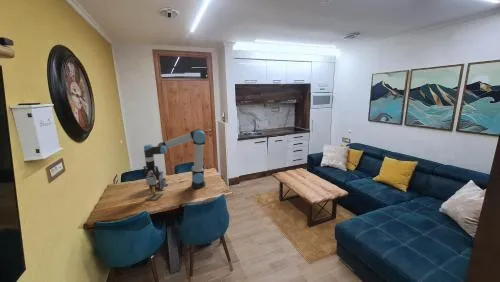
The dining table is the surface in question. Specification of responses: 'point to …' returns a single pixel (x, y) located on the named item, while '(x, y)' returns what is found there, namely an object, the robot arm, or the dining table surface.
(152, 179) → the hollow square steel tube
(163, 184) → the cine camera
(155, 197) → the peg on base
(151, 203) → the dining table surface
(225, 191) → the dining table surface
